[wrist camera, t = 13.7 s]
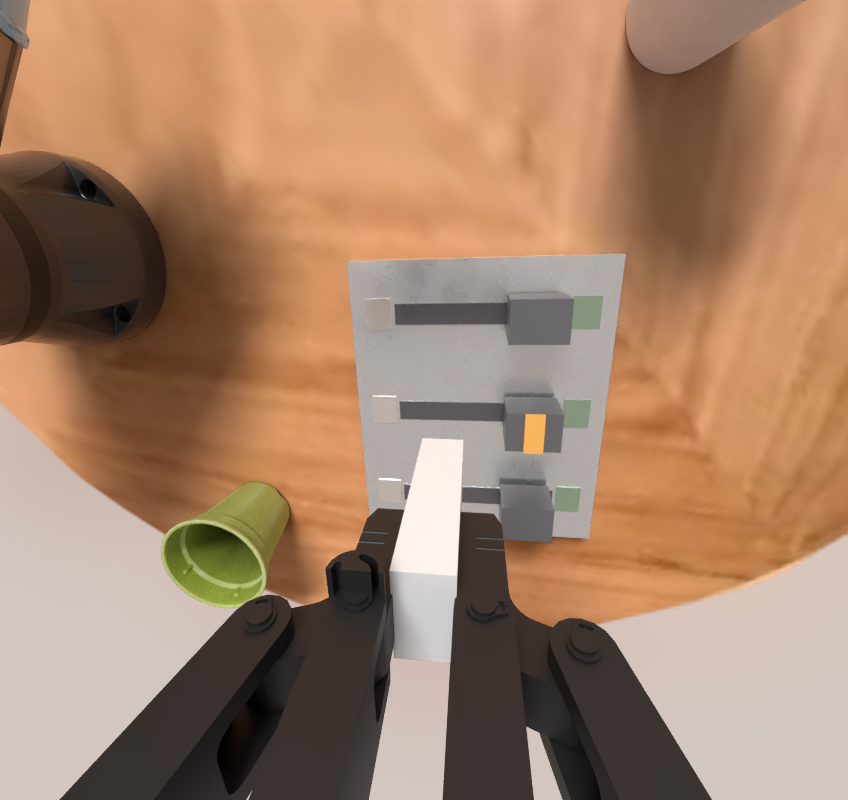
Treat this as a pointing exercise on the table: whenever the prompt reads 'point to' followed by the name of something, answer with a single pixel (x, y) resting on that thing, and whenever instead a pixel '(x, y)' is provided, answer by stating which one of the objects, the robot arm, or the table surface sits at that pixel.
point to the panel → (481, 373)
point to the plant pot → (227, 546)
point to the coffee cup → (693, 29)
